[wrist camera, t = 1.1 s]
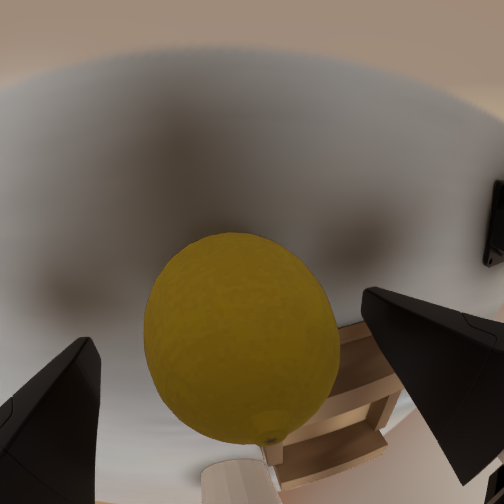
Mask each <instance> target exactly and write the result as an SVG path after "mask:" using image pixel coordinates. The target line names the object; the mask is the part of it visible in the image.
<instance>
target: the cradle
mask: <svg viewBox="0 0 504 504" xmlns="http://www.w3.org/2000/svg"><path fill="white" fill-rule="evenodd" d="M338 332H339V337H340V363H339V369H338V373H337V376H336V379H335V382H334V384H333V387H332V389H331V392H330V394H329V396H328V397H327V399H326V400H325V402H324V403H323V404H322V406H321V407H320V409H319V410H318V411H317V413H316V414H315V415H313V416H312V417H311V418H310V419H309V420H308V421H307V422H306V423H305V424H304V425H303V426H301V427H300V428H298V429H297V430H295V431H294V432H292V433H290V434H288V435H287V437H286V438H285V439H284V440H283V441H282V442H280V443H278V444H276V445H272V446H266V447H263V446H261V451H262V455H263V458H264V461H265V462H267V464H268V467H269V466H273V467H274V470H275V473H276V476H277V479H278V482H279V485H280V488H281V491H282V490H286V489H290V488H294V487H297V486H301V485H304V484H307V483H311V482H314V481H317V480H320V479H323V478H326V477H329V476H332V475H335V474H337V473H340V472H343V471H345V470H348V469H350V468H352V467H355V466H358V465H360V464H363V463H365V462H367V461H369V460H372V459H374V458H376V457H378V456H380V455H382V454H383V452H384V450H385V449H386V447H387V445H388V444H387V442H386V441H385V439H384V437H383V436H382V434H381V433H380V431H379V429H381V428H383V427H385V426H386V424H387V422H388V420H389V418H390V416H391V414H392V411H393V409H394V407H395V405H396V402H397V400H398V398H399V395H400V393H401V390H402V389H403V388H405V387H404V386H403V384H402V383H401V381H400V380H399V378H398V377H397V375H396V373H395V372H394V370H393V369H392V367H391V366H390V364H389V363H388V361H387V360H386V358H385V357H384V355H383V354H382V352H381V350H380V349H379V347H378V345H377V343H376V342H375V340H374V338H373V336H372V334H371V332H370V330H369V328H368V326H367V324H366V323H365V321H364V322H361V323H357V324H354V325H351V326H347V327H344V328H340V329H338Z"/></svg>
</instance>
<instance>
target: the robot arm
mask: <svg viewBox="0 0 504 504" xmlns="http://www.w3.org/2000/svg"><path fill="white" fill-rule="evenodd" d="M503 261H504V180H498V181H497V182H496V186H495V196H494V205H493V213H492V220H491V227H490V233H489V239H488V244H487V249H486V254H485V258H484V265H485V266H487V267H488V268H489V267H492V266H494V265H496V264H499V263H501V262H503ZM361 314H362V317H363V319H364V321H365V323H366V324H367V326H368V328H369V330H370V332H371V334H372V336H373V338H374V340H375V342H376V343H377V345H378V347H379V349H380V350H381V352H382V354H383V355H384V357H385V358H386V360H387V361H388V363H389V364H390V366H391V367H392V369H393V370H394V372H395V373H396V375H397V377H398V378H399V380H400V381H401V383H402V384H403V386H404V387H405V389H406V391H407V392H408V394H409V395H410V397H411V399H412V400H413V402H414V403H415V405H416V407H417V408H418V410H419V411H420V413H421V415H422V416H423V418H424V419H425V421H426V423H427V425H428V426H429V428H430V430H431V431H432V433H433V435H434V436H435V438H436V440H438V443H439V445H440V447H441V449H442V450H443V452H444V454H445V455H446V457H447V459H448V461H449V463H450V464H451V466H452V468H453V470H454V471H455V473H456V475H457V477H458V479H459V481H460V483H461V484H462V486H464V485H465V484H467V483H468V482H469V481H471V480H472V479H473V478H474V477H475V476H476V475H478V474H479V473H480V472H481V471H482V470H483V469H484V468H486V467H487V466H488V465H489V464H490V463H491V462H492V461H493V460H494V459H495V458H496V457H498V458H499V459H500V461H501V462H502V463H503V464H502V465H501V466H500V467H499V468H498V469H497V470H496V471H495V472H494V473H493V474H491V475H490V477H489V481H488V486H487V492H486V497H485V502H484V504H504V323H501V322H497V321H492V320H488V319H484V318H480V317H477V316H473V315H470V314H466V313H463V312H462V313H461V312H459V311H456V310H453V309H449V308H446V307H443V306H439V305H436V304H433V303H429V302H426V301H423V300H419V299H416V298H412V297H409V296H406V295H402V294H399V293H396V292H392V291H389V290H385V289H382V288H379V287H370V288H366V289H365V290H364V291H363V296H362V304H361ZM100 384H101V358H100V355H99V353H98V351H97V349H96V347H95V345H94V343H93V340H92V339H91V338H90V337H80V338H78V339H76V340H75V341H74V342H73V343H72V344H71V345H69V346H68V347H67V348H66V349H65V350H63V351H62V352H61V353H60V354H59V355H58V356H56V357H55V358H54V359H53V360H52V361H51V362H50V363H48V364H47V365H46V366H45V367H44V368H43V369H42V370H40V371H39V372H38V373H37V374H36V375H35V376H34V377H33V378H31V379H30V380H29V381H28V382H27V383H26V384H25V385H24V386H22V387H21V388H20V389H19V390H18V391H17V392H16V393H15V394H14V395H13V397H10V398H9V399H8V400H7V401H6V402H5V403H4V404H3V405H2V406H1V407H0V504H95V456H96V440H97V428H98V417H99V408H100Z"/></svg>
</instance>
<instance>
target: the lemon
mask: <svg viewBox="0 0 504 504" xmlns="http://www.w3.org/2000/svg"><path fill="white" fill-rule="evenodd" d="M144 349H145V356H146V360H147V364H148V368H149V370H150V373H151V376H152V379H153V381H154V384H155V386H156V389H157V391H158V393H159V395H160V397H161V398H162V400H163V402H164V403H165V404H166V405H167V406H168V407H169V408H170V410H171V411H172V412H173V413H174V414H175V415H176V416H177V418H178V419H179V420H180V421H182V422H183V423H184V424H186V425H187V426H189V427H190V428H192V429H194V430H195V431H197V432H199V433H200V434H202V435H205V436H207V437H209V438H212V439H215V440H219V441H222V442H227V443H233V444H242V445H245V444H256V445H258V446H263V447H266V446H272V445H276V444H278V443H280V442H282V441H283V440H284V439H285V438H286V437H287V435H288V434H290V433H292V432H294V431H295V430H297V429H298V428H300V427H301V426H303V425H304V424H305V423H306V422H307V421H308V420H309V419H310V418H311V417H312V416H313V415H315V414H316V413H317V411H318V410H319V409H320V407H321V406H322V404H323V403H324V402H325V400H326V399H327V397H328V396H329V394H330V392H331V389H332V387H333V384H334V382H335V379H336V376H337V373H338V369H339V363H340V337H339V332H338V327H337V324H336V321H335V318H334V315H333V312H332V309H331V306H330V303H329V300H328V298H327V296H326V293H325V291H324V290H323V288H322V286H321V285H320V283H319V282H318V281H317V279H316V278H315V277H314V275H313V274H312V273H311V272H310V270H309V269H308V268H307V267H306V265H305V264H304V263H303V262H302V261H301V260H300V259H299V258H298V257H296V256H295V255H294V254H292V253H291V252H289V251H288V250H286V249H285V248H283V247H282V246H280V245H279V244H278V243H276V242H274V241H271V240H268V239H265V238H262V237H260V236H257V235H254V234H249V233H235V232H227V233H221V234H216V235H210V236H207V237H204V238H202V239H200V240H198V241H195V242H193V243H191V244H189V245H188V246H186V247H185V248H184V249H183V250H181V251H180V252H179V253H177V254H176V255H175V256H174V257H173V258H171V259H170V261H169V262H168V263H167V265H166V266H165V267H164V269H163V270H162V272H161V273H160V274H159V276H158V277H157V279H156V280H155V283H154V285H153V288H152V291H151V293H150V296H149V299H148V302H147V305H146V309H145V315H144Z"/></svg>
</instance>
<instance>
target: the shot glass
mask: <svg viewBox="0 0 504 504" xmlns="http://www.w3.org/2000/svg"><path fill="white" fill-rule="evenodd" d="M201 490H202V504H282V502H281V499H280V497H279V495H278V493H277V491H276V488H275V486H274V484H273V482H272V480H271V477H270V475H269V473H268V471H267V468H266V466H265V464H263V463H262V462H260V461H257V460H252V459H236V460H229V461H223V462H220V463H216V464H213V465H211V466H209V467H207V468H205V469H204V470H203V472H202V473H201Z"/></svg>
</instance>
